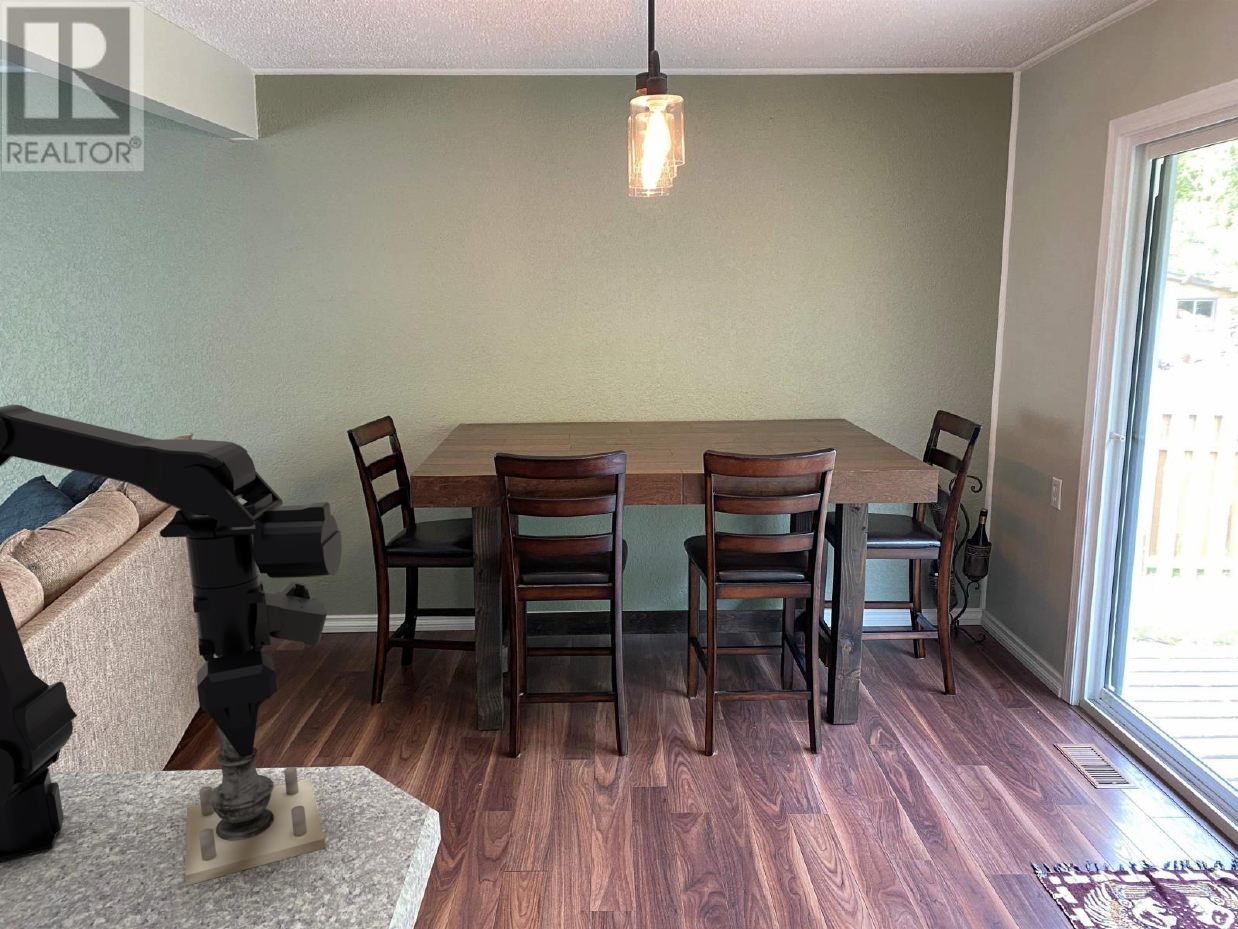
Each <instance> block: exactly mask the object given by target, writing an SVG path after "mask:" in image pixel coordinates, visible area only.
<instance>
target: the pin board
mask: <svg viewBox="0 0 1238 929" xmlns="http://www.w3.org/2000/svg"><path fill="white" fill-rule="evenodd" d="M283 772H284V773H283V774H284V783H283V784H280V785H274V788H273V791H272V792H271V797H270V800H269V803H268V806H267V807H266V809H268V810H270V811H271V812H272V813H273V815H274V821H273V823H272V824H271V826H270V827H269V828H268V829H266V830H265V831H264V832H262V833H260V834H258V835H256V836H254V837H251V838H247V839H244V840H237V841H230V840H224V839H222V838H220V837H218V835H217V834H216V827H217V825H218V824H219V822H220V821H221V820H222V819H221V818H219V816H218V815H217V814H216V812H215V811H214V808H213V806H211V804H210V803H209V796H210V793H211V792H212V791H213V787H212V786H210V785H209V786H208V785H207V786H204V787H202V788H200V789H198V792H199V793H198V794H199V795H198V796H199V801H200V804H196V805H192V806H187V807H186V818H185V819H186V822H185V823H186V826H185V827H186V828H185V830H186V831H185V854H184V855H185V857H184V858H185V860H184V861H185V862H184V865H185V866H184V878H185V885H186V886H189V885H193V884H197V883H201V882H205V881H208V880H212V879H216V878H219V877H223V876H227V875H230V874H234V873H238V872H241V871H244V870H248V869H252V868H256V867H259V866H260V867H261V866H263V865H267V864H270V863H274V862H278V861H281V860H285V859H289V858H292V857H296V856H300V855H303V854H307V853H312V852H314V851H315V852H316V851H319V850H322V849H323V850H324V849H325V848H326V841H325V840H326V839H325V835H324V831H323V826H322V821H321V817H320V813H319V807H318V804H317V800H316V796H315V792H314V787H313V782H312V779H311V777H308V778H304V779H301V780H298V772H297V767H296V766H289V767H286V768H285V769H284V771H283Z"/></svg>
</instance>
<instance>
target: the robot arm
mask: <svg viewBox="0 0 1238 929" xmlns="http://www.w3.org/2000/svg"><path fill="white" fill-rule="evenodd" d="M12 458H18V459H23V460H25V461H26V460H27V461H32V462H35V463H39V464H45V465H47V466H52V467H58V468H62V469H66V470H70V471H74V472H75V471H76V472H79V473H84V474H88V475H92V476H96V477H100V478H105V479H110V480H114V481H118V482H123V483H127V484H130V485H133V486H135V487H138V488H140V489H142V490H143V491H145V492H146V493H147V494H149V495H150V496H152V498H154V499H155V500H157V501H159V502H161V503H163V504H166V505H169V506H171V507H173V508H175V509H178V510H176V512H175V514H174V516H173V517H172V519H171V520H170V521H169V522H168V523H167V524H166V526H164V527H163V528H162V529H161V530H160V531H159V535H160V537H161V538H165V539H166V538H168V539H169V538H185V540H186V541H185V542H186V547H187V556H188V557H187V558H188V563H189V564H188V565H189V572H190V581H191V586H192V587H191V588H192V606H193V612H194V614H195V619H196V626H197V636H198V637H197V638H198V644H197V645H198V653H199V656H202V658H203V659H204V661H205V662H204V664H203V665H202V666H201V667H200V668H199V670H198V671H197V672H196V674H197V676H196V688H197V694H198V697H197V698H198V704H199V708H202V710H203V711H204V712H206V714H208V716H210V718H211V719H212V721H213V722H214V723H215V725H216V726H217V727H218V729H219V728H220V730H221V731H222V732H223V734H224V735H225V737H226V738H227V739H228V741H229V742H230V744H231V745H232V746H233V748H234V749H235V751H236V752H237V753H238V755H239V756H240V757H244V756H249V755H251V754H252V753H253V747H254V745H255V740H256V730H257V723H258V716H259V715H258V714H259V709H260V706H261V705H262V704H263V703H265V702H266V700H269V699H271V698H272V697H273V696H274V695H275V694H276V693H277V692H278V687H277V686H278V685H277V677H276V676H277V675H276V668H275V666H274V665H275V664H274V660H273V657H271V656H269V654H267V653H265V652H263V651H262V649H263V648H264V647H266V646H271V645H272V644H271V637H272V638H275V639H280V640H288V641H293V642H300V643H303V644H304V645H305V646H306V645H307V646H317V645H320V641H321V638H322V633H323V630H324V627H325V623H326V619H327V617H328V610H327V608H326V606H325V604H324V603H323V602H322V601H320V600H319V599H318V598H317V597H313V599H312V598H311V597H310V593H309V588H308V586H307V584H306V583H303V582H298V581H297V582H296V581H291V582H290V583H289V584H288V585H287V586H286V587H285V588H284V589H283V590H282V591H276V593H270V592H268V593H267V592H265V590H264V583H263V581H262V580H260V575H259V573H260V574H266V576H268V577H269V578H271V579H289V578H309V577H313V578H314V577H334V576H336V574H337V573H338V571H339V569H340V568H339V567H340V564H341V559H342V550H343V549H342V546H343V544H342V533H341V530H339V526H338V523H337V520H336V518H335V517H334V515H333V514H331V506H330V505H331V504H330V503H329V502H327V501H324V502H323V501H322V502H321V501H320V502H313V503H308V504H299V505H298V504H296V505H293V504H292V505H283V504H284V502H283V499H282V498H281V497H280V496H279V495H278V494H277V493H276V491H274V489H273V488H272V487H271V486H270V485H269V484H268V483H267V482H266V481H265V480H264V478H263V477H262V476H261V475H260V474H259V473H258V471H257V470H256V467H255V464H254V460H253V459H252V457H251V456H250V455H249V454H248V451H247V449H246V448H244V447H243V446H242V445H240V444H237V443H234V442H232V441H227V440H213V439H211V440H210V439H197V438H196V439H193V438H192V439H191V438H190V439H162V438H161V439H158V438H151V437H147V436H143V435H138V434H133V433H128V432H125V431H121V430H116V429H113V428H108V427H104V426H100V425H95V424H91V423H87V422H83V421H78V420H73V419H69V418H66V417H61V416H57V415H53V414H48V413H44V412H40V411H36V410H33V409H31V408H29V407H27V406H25V405H20V404H9V405H2V406H0V467H2V466H4V465H6V464H7V463H8V462H9V461H10V460H11V459H12ZM240 499H242V500H243V501H245V503H242V502H240ZM26 654H27V653H26V651H25V649H24V646H23V643H22V640H21V637H20V634H19V631H18V629H17V625H16V623H15V619H14V617H13V615H12V611H11V608H10V605H9V603H8V600H7V596H6V593H5V590H4V588H3V586H2V582H1V581H0V862H3V861H7V860H11V859H15V858H20V857H24V856H27V855H32V854H36V853H40V852H44V851H49V850H50V849H52V848H53V847H54V844H55V841H56V838H57V833H58V834H59V832H60V831H61V830H62V825H63V823H64V822H63V821H64V818H65V817H64V811H63V805H62V799H61V793H60V786H59V783H58V782H56V781H54V782H52V781H51V780H52V779H51V778H52V777H51V774H50V768H49V767H50V766H51V765H52V764H55V763H56V762H57V761H58V760H59V758H60V754H61V750H62V748H63V747H64V746H66V745H67V743H68V741H69V740H70V738H71V736H72V735H73V731H74V725H73V720H74V719H75V718H77V716H78V714H77V713H76V712H75V711H74V709H72V706H71V705H70V702H69V700H68V693H67V688H66V686H65V684H64V682H63V681H57V682H55V683H52V684H48V683H46V682H45V680H43V679H42V678H40V677H38V676H37V675H36V674H35V673H34V672H33V670H32V668H31V666H30V663H29V660H28V657H27V655H26ZM254 748H255V747H254Z"/></svg>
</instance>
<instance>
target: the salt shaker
mask: <svg viewBox="0 0 1238 929" xmlns="http://www.w3.org/2000/svg"><path fill="white" fill-rule="evenodd" d="M217 732H218V740H219V742H218V743H219V750H220V751H219V752H220V753H219V754H218V755H217V758H216V762H217V763H218V764H219V765H221V766H220V767H221V774H222V781H221V783H219V784H218V785H217V786H216V787H215V788H214V789H212V792H211V793H210V796H209V803H210V804H211V806H213V808H214V811H215V812H216V814H217V815H218V816H219V818H221V819H222V820H221V821H220V822H219V824H218V825H217V827H216V834H217V835H218V837H220V838H222V839H224V840H230V841H237V840H244V839H247V838H251V837H254V836H256V835H258V834H260V833H262V832H264V831H265V830H266V829H268V828H269V827H270V826H271V824H272V823H273V821H274V815H273V813H272V812H271V811H270V810H268V809H266V807H267V806H268V803H269V800H270V797H271V792H272V791H273V788H274V786H275V785H274V781H273V779H271V778H270V777H268V776H265V775H263V774H262V775H261V774H258V772H257V767H256V766H257V765H256V757H257V755H258V749H257V748H256V747H253V753H252V754H251V755H249V756H244V757H240V756H239V755H238V753H237V752H236V751H235V749H234V748H233V746H232V745H231V744H230V742H229V741H228V739H227V738H226V737H225V735H224V734H223V732H222V731H221V730H220V728H219V727H218V731H217Z"/></svg>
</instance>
